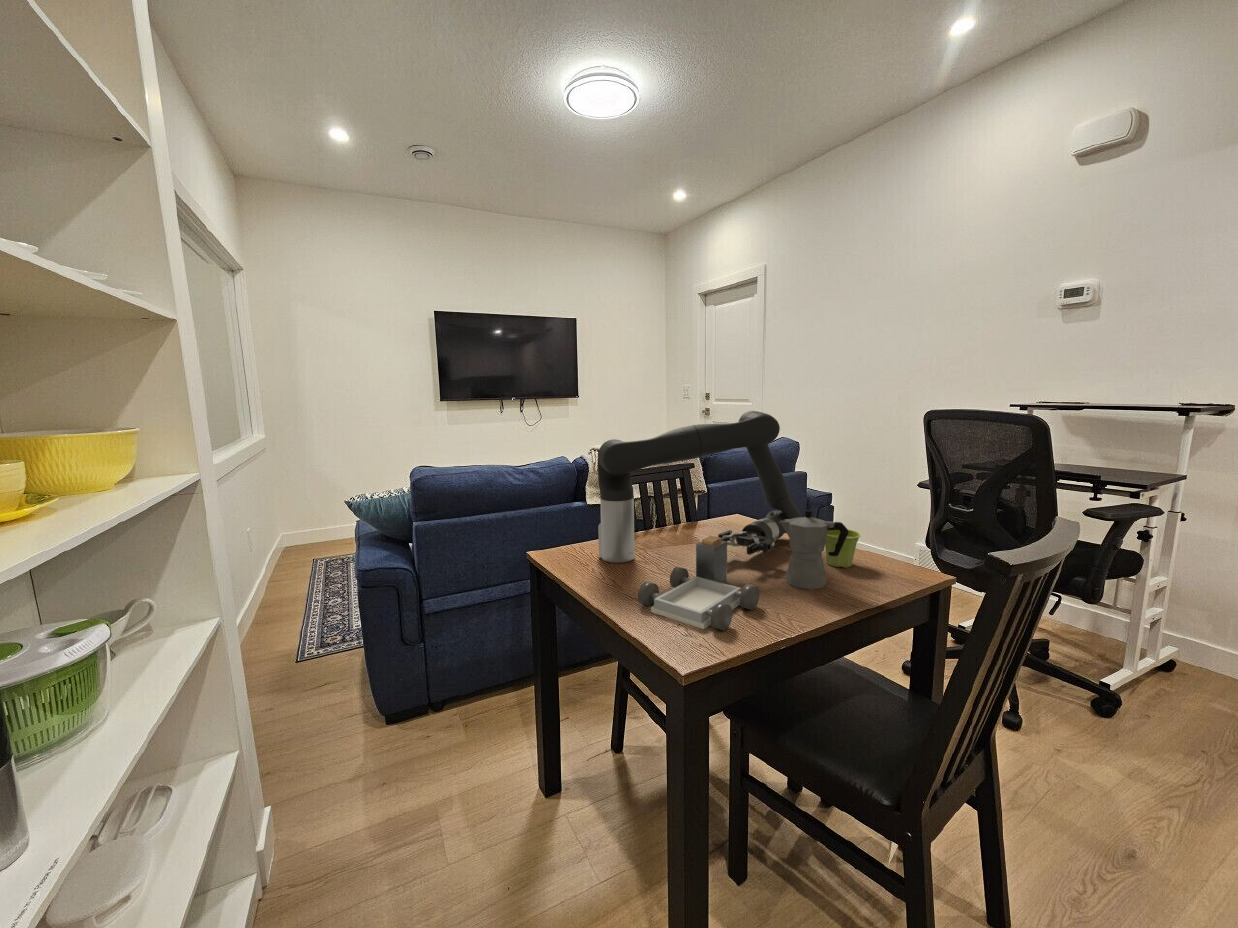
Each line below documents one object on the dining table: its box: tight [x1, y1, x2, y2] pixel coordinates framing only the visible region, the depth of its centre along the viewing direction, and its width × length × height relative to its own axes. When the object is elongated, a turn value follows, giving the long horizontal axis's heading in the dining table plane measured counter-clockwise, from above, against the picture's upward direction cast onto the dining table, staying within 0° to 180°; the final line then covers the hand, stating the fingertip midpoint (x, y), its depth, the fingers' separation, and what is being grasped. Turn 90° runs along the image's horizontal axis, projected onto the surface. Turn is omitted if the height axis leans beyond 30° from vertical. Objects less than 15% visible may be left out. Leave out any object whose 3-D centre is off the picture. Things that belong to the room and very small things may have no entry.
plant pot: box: [824, 528, 861, 569], centre depth 136 cm, size 9×9×9 cm
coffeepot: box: [779, 509, 848, 590], centre depth 122 cm, size 15×9×18 cm, turn 65°
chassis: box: [637, 566, 760, 632], centre depth 111 cm, size 20×17×5 cm
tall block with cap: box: [695, 535, 728, 584], centre depth 124 cm, size 5×6×11 cm
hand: (732, 547), depth 132 cm, fingers open, 8 cm apart
